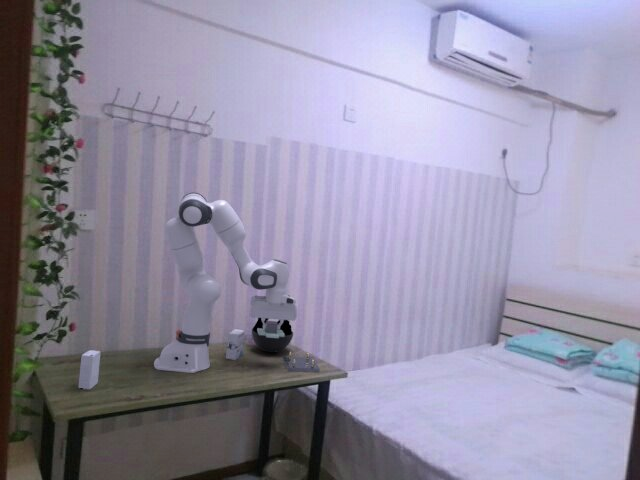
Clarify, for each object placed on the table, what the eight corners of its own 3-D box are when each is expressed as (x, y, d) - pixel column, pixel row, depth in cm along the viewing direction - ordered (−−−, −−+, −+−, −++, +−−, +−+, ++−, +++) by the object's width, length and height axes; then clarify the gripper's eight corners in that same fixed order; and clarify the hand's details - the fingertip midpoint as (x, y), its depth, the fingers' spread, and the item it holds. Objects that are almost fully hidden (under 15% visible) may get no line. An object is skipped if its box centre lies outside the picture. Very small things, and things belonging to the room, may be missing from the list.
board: (259, 336, 204) (261, 325, 204) (256, 328, 217) (257, 317, 217) (285, 338, 207) (287, 327, 207) (280, 330, 220) (282, 319, 219)
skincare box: (86, 382, 175) (88, 349, 174) (98, 383, 175) (101, 350, 174) (77, 388, 169) (80, 354, 168) (90, 390, 169) (93, 356, 168)
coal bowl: (248, 344, 243) (252, 306, 242) (288, 346, 247) (292, 309, 246) (250, 357, 224) (254, 316, 223) (293, 359, 228) (298, 319, 226)
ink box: (232, 353, 226) (234, 328, 225) (242, 355, 225) (245, 330, 224) (225, 358, 218) (227, 332, 217) (235, 360, 217) (238, 334, 216)
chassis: (287, 371, 211) (289, 360, 210) (282, 359, 225) (283, 349, 225) (319, 372, 214) (320, 361, 214) (312, 360, 228) (313, 351, 228)
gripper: (252, 296, 205) (247, 328, 206) (299, 300, 210) (295, 332, 211) (250, 293, 212) (246, 325, 212) (296, 297, 217) (292, 328, 217)
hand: (271, 328), depth 212 cm, fingers closed on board, 4 cm apart
